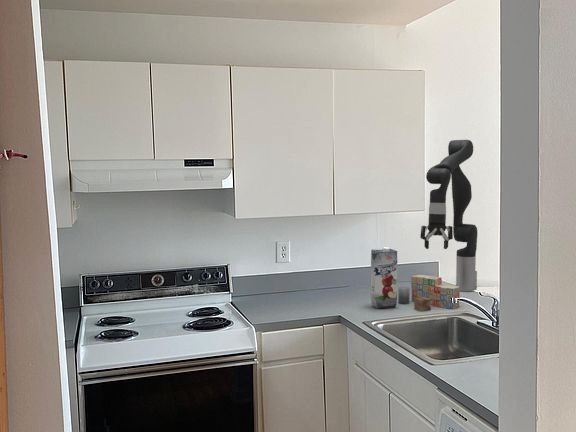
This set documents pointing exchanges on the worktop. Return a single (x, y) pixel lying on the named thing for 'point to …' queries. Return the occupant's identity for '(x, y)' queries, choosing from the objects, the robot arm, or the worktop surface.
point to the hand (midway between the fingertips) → (436, 248)
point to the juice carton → (384, 278)
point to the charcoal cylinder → (403, 295)
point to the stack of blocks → (434, 291)
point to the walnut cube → (422, 304)
